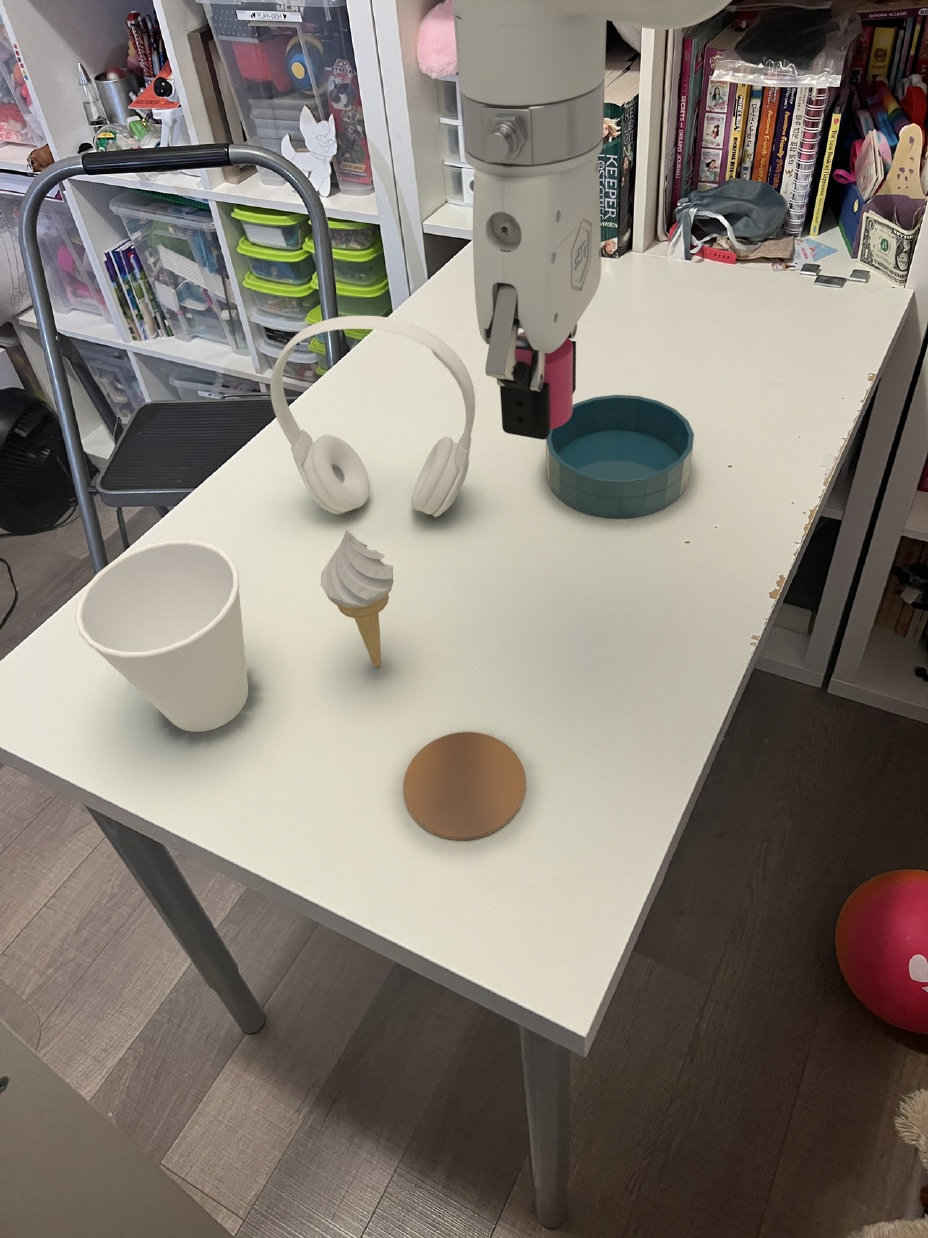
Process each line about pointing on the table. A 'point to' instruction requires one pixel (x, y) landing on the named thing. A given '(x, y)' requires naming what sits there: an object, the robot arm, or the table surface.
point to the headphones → (336, 465)
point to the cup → (172, 629)
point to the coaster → (464, 786)
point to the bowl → (620, 456)
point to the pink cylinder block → (556, 380)
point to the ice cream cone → (359, 588)
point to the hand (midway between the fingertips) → (539, 409)
